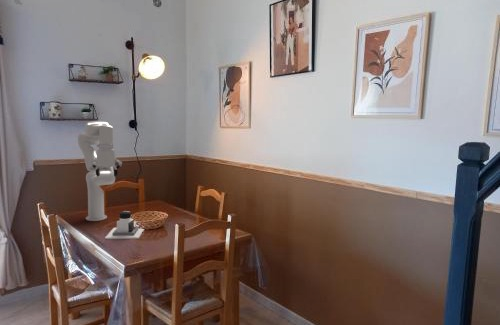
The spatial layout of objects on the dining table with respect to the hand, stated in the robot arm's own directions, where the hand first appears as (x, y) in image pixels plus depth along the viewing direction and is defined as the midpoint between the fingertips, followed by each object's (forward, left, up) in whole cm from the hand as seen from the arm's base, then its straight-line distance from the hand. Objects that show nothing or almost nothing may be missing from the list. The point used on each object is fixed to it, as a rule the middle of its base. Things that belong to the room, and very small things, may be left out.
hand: (106, 176), depth 199 cm
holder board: (+7, +12, -32) cm, 35 cm away
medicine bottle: (+7, +12, -32) cm, 34 cm away
